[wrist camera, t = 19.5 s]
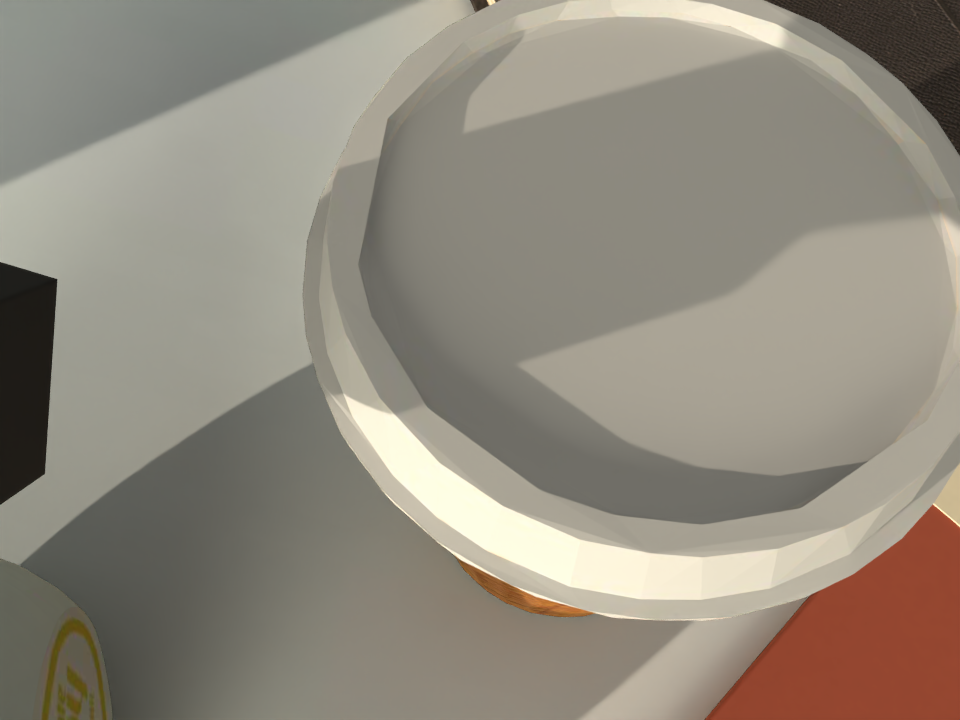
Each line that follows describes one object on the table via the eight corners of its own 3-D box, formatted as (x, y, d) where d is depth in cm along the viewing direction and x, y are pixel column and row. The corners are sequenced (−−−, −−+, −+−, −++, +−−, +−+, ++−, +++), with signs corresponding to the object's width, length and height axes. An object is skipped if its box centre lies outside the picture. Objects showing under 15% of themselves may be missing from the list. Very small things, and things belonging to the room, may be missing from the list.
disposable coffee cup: (516, 256, 25) (565, -136, 14) (818, 453, 23) (1151, 168, 12) (288, 525, 22) (123, 282, 11) (616, 783, 20) (821, 803, 9)
